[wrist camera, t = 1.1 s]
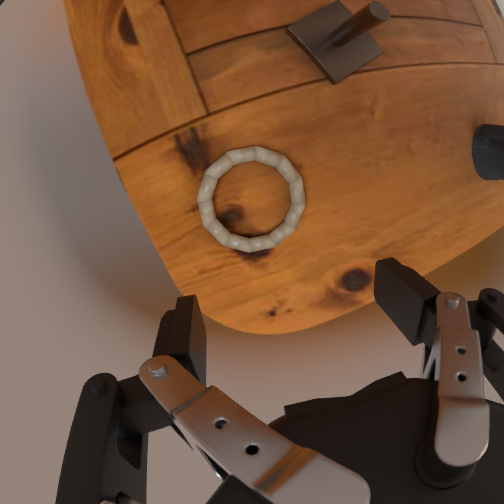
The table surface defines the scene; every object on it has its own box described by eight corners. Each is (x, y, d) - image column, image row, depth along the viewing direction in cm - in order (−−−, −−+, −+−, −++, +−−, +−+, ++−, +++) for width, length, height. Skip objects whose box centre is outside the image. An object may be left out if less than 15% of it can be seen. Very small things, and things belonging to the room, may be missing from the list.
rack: (284, 31, 23) (313, -10, 14) (335, 3, 22) (375, -34, 12) (332, 85, 26) (381, 67, 16) (378, 54, 24) (432, 34, 15)
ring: (177, 197, 29) (175, 199, 27) (257, 125, 27) (259, 124, 26) (246, 266, 33) (248, 272, 31) (321, 203, 31) (326, 206, 29)
